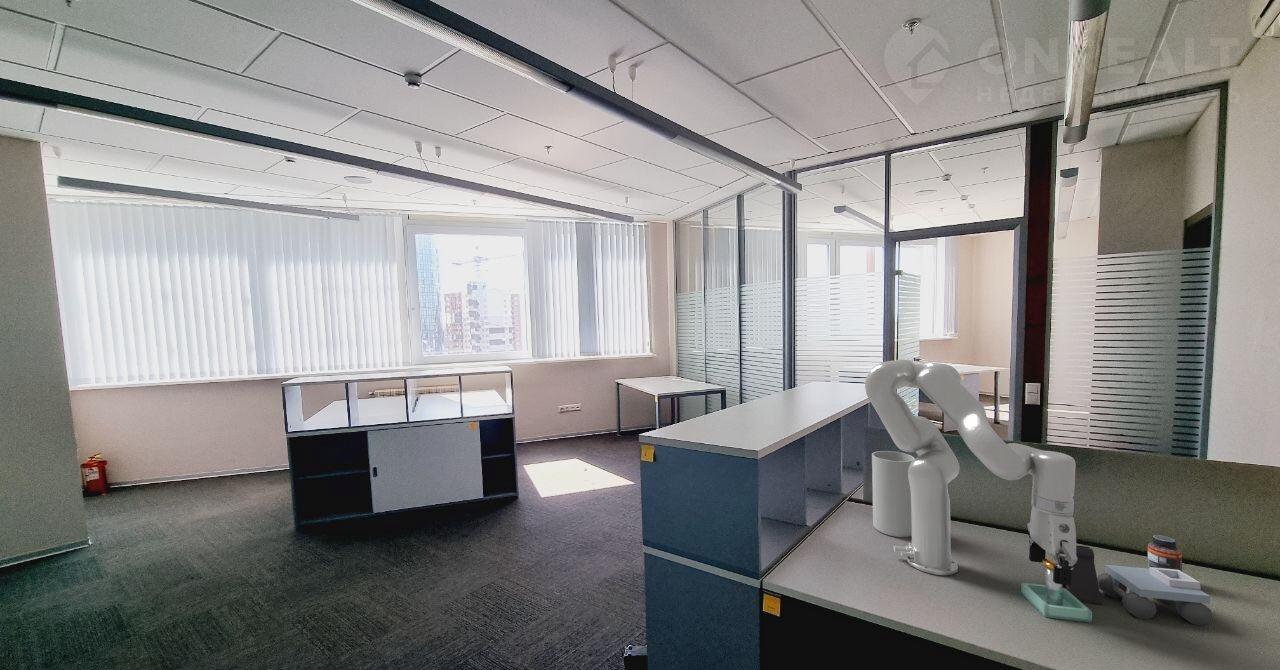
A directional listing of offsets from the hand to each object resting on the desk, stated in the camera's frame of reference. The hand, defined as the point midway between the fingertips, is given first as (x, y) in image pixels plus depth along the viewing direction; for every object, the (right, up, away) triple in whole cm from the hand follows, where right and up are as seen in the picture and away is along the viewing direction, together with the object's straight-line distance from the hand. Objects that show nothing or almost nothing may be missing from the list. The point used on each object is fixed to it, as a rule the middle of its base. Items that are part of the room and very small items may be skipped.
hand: (1048, 572), depth 110 cm
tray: (+1, -8, -1) cm, 8 cm away
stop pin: (+1, -7, -1) cm, 8 cm away
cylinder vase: (-14, -8, +42) cm, 45 cm away
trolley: (+23, -8, -2) cm, 24 cm away
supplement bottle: (+39, -7, +9) cm, 41 cm away
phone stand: (+11, -8, +5) cm, 15 cm away
